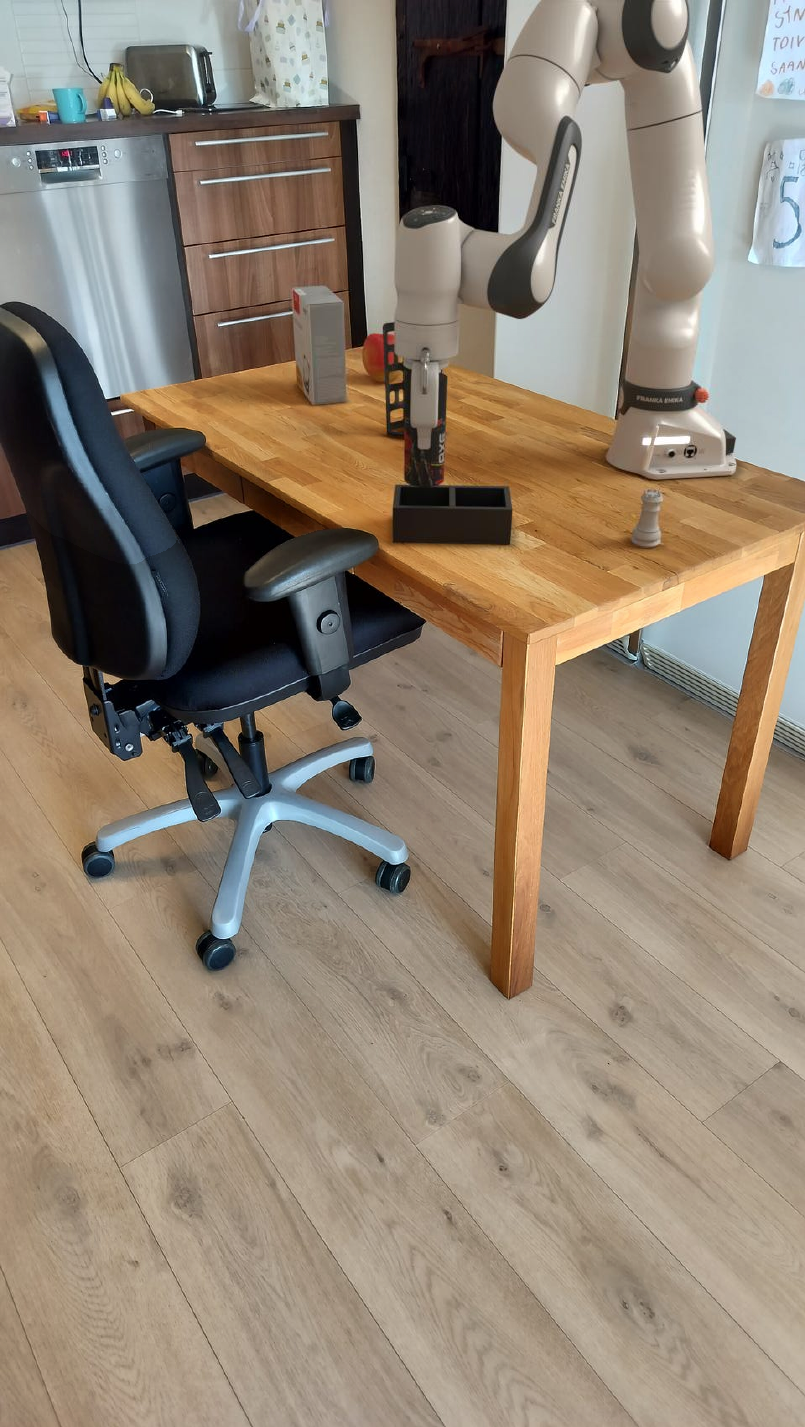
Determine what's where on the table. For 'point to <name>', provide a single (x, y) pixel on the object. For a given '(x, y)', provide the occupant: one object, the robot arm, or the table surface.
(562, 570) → the table surface
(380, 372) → the apple
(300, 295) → the hard drive box
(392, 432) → the holder
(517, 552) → the table surface
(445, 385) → the deodorant
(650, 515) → the rook chess piece
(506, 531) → the box
